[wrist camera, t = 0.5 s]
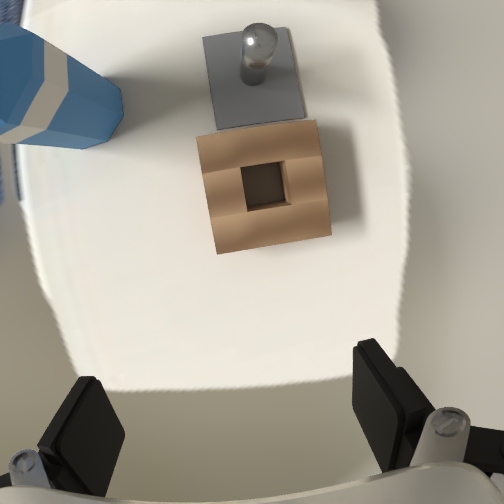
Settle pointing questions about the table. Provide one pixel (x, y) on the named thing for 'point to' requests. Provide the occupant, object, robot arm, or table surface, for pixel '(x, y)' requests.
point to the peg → (256, 52)
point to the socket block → (293, 182)
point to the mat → (251, 97)
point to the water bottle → (52, 95)
